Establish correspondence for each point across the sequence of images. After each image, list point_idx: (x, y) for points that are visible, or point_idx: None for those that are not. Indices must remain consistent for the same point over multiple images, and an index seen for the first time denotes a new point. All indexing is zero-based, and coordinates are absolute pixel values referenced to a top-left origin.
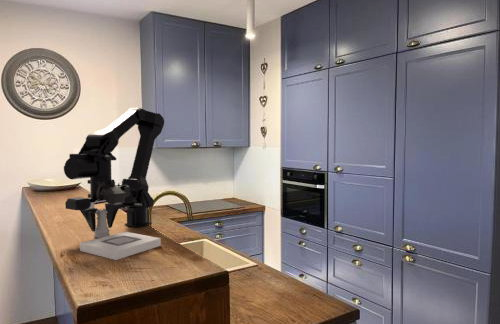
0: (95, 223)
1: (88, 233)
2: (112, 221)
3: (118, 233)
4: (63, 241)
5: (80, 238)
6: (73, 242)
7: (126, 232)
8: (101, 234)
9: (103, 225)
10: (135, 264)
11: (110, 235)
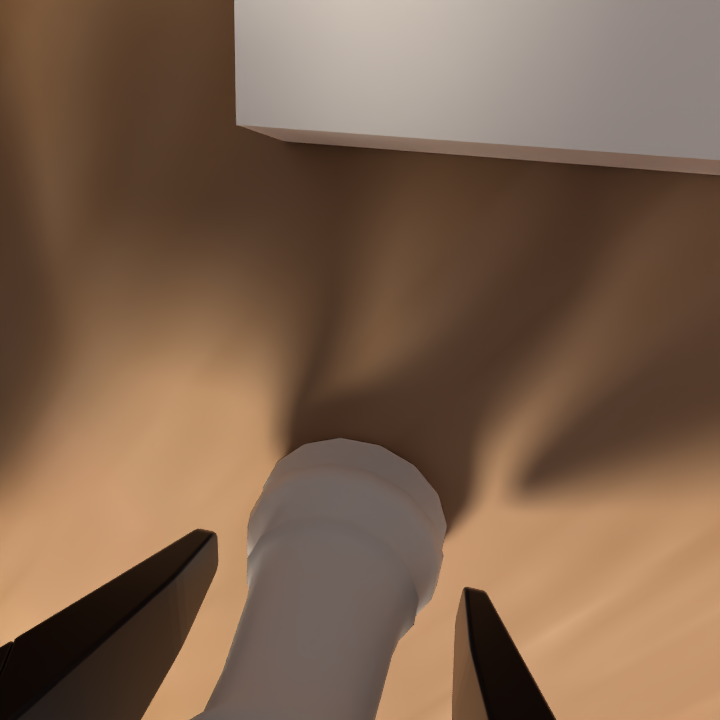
0: (491, 702)
1: None
2: (134, 586)
3: (410, 127)
4: (694, 713)
5: (522, 643)
6: (705, 610)
7: (271, 41)
8: (405, 494)
9: (339, 588)
10: None
11: (615, 141)
